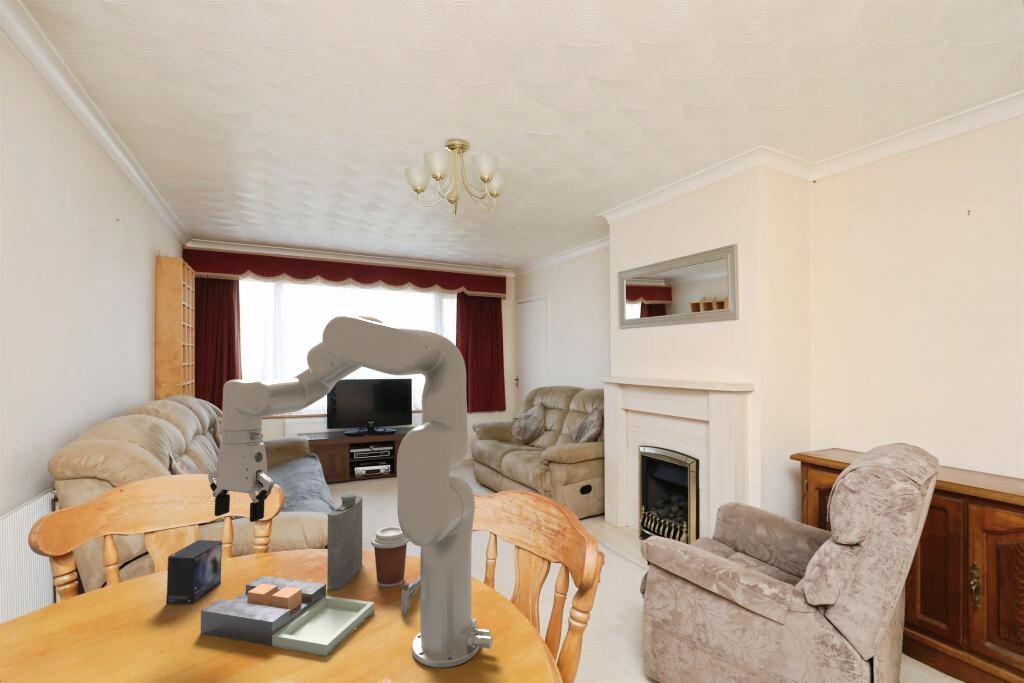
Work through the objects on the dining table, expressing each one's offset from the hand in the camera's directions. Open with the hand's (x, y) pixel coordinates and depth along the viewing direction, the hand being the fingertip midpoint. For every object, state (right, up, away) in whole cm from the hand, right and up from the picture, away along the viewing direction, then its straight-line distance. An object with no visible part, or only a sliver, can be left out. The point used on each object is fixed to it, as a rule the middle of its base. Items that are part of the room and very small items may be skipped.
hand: (239, 517), depth 105 cm
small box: (-15, -21, +9) cm, 27 cm away
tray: (+21, -20, -6) cm, 30 cm away
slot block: (+7, -20, -3) cm, 22 cm away
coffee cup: (+29, -21, +14) cm, 38 cm away
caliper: (+37, -21, +8) cm, 43 cm away
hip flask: (+17, -21, +17) cm, 32 cm away
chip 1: (+6, -17, -2) cm, 18 cm away
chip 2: (+12, -17, -4) cm, 21 cm away
